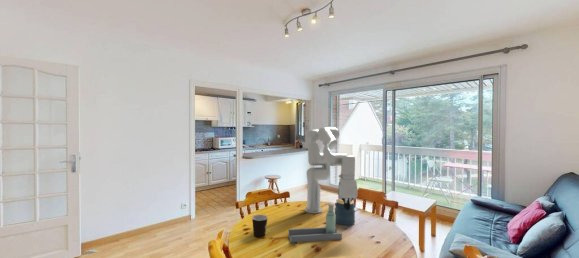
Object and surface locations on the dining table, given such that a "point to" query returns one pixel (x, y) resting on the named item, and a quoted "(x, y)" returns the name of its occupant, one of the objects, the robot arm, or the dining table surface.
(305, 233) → the u rest
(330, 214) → the bottle
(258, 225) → the coffee mug
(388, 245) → the dining table surface
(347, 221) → the canister
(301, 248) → the dining table surface
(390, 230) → the dining table surface
